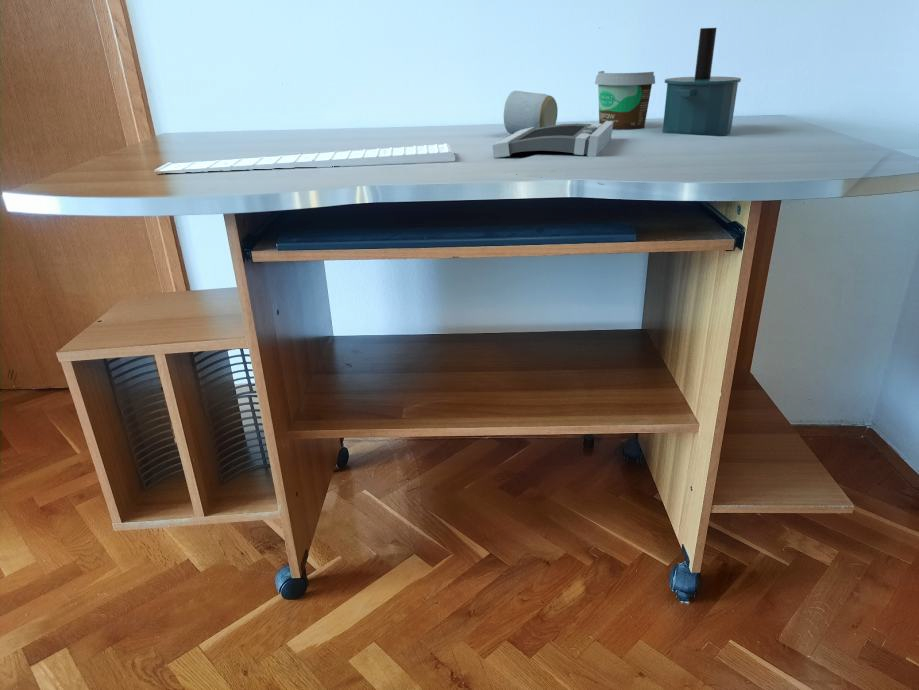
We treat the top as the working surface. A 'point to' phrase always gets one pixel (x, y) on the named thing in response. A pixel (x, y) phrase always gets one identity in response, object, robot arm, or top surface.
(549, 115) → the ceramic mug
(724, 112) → the pot
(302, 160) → the keyboard
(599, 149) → the grey curved frame
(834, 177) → the top surface
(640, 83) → the food container
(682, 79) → the lid
